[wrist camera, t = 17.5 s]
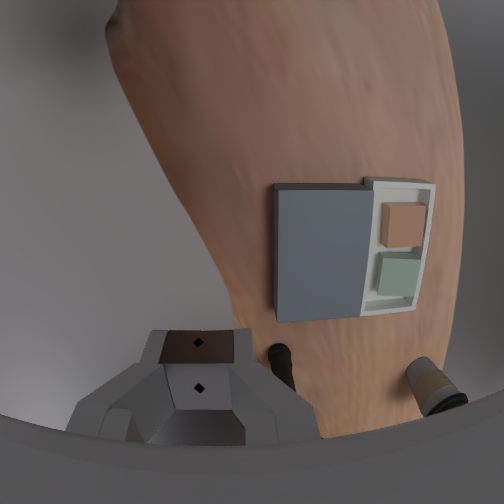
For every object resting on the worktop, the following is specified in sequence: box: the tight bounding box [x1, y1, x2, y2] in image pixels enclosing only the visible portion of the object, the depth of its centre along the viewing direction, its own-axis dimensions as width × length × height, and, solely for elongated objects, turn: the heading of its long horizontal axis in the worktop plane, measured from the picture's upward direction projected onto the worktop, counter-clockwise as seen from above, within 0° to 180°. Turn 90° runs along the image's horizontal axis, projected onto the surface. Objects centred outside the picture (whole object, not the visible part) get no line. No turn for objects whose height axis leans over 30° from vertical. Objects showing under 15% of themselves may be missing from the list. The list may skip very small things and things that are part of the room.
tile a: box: [380, 202, 426, 248], centre depth 43 cm, size 6×6×2 cm
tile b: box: [375, 252, 421, 297], centre depth 45 cm, size 6×6×2 cm
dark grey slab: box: [273, 183, 374, 323], centre depth 43 cm, size 18×12×5 cm, turn 1°
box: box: [360, 177, 436, 316], centre depth 44 cm, size 20×10×4 cm, turn 1°
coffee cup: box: [406, 357, 468, 417], centre depth 49 cm, size 9×9×15 cm
